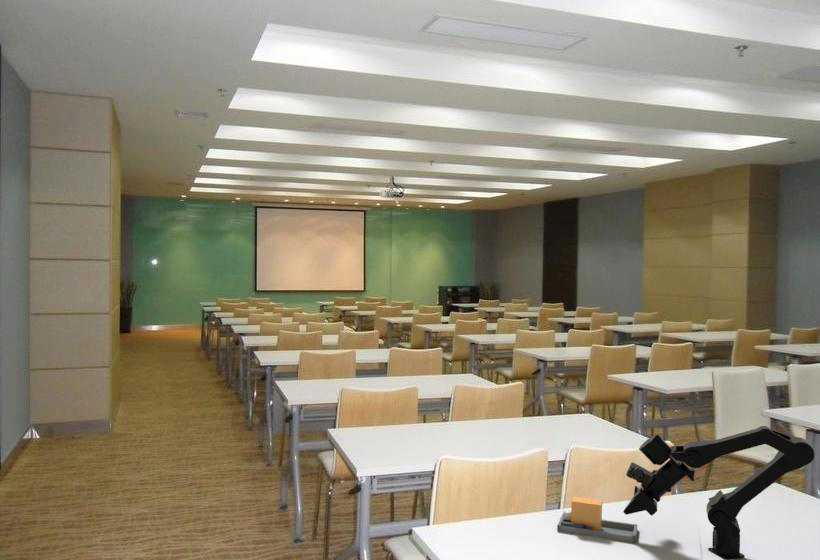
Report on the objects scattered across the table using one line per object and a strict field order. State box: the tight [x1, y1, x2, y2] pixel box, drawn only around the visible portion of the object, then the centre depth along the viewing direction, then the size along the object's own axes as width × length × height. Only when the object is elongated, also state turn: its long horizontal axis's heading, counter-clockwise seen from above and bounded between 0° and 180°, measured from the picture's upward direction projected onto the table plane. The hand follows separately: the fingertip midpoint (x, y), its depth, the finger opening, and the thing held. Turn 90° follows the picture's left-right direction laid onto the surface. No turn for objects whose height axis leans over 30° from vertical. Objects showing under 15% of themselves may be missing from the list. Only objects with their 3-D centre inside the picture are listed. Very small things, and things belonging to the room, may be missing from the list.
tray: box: [556, 513, 638, 544], centre depth 188 cm, size 21×10×3 cm, turn 69°
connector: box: [562, 496, 603, 531], centre depth 190 cm, size 10×4×8 cm, turn 69°
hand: (624, 512), depth 185 cm, fingers closed
